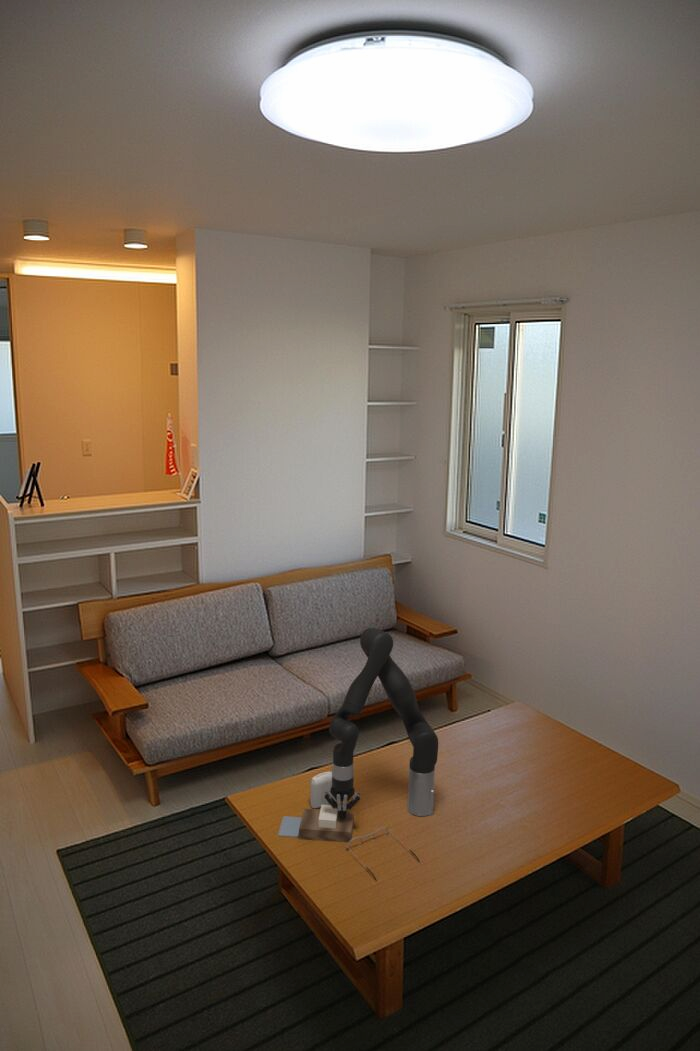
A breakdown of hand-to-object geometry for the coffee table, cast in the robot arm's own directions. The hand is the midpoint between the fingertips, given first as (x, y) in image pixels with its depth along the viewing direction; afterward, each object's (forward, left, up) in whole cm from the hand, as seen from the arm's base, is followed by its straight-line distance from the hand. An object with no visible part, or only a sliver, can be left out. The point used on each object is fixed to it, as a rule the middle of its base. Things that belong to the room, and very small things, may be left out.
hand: (341, 818), depth 265 cm
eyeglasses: (-15, +12, -6) cm, 20 cm away
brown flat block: (+5, 0, -5) cm, 7 cm away
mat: (+18, -1, -5) cm, 19 cm away
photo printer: (+8, -16, -5) cm, 19 cm away
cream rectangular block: (+5, 0, 0) cm, 5 cm away
